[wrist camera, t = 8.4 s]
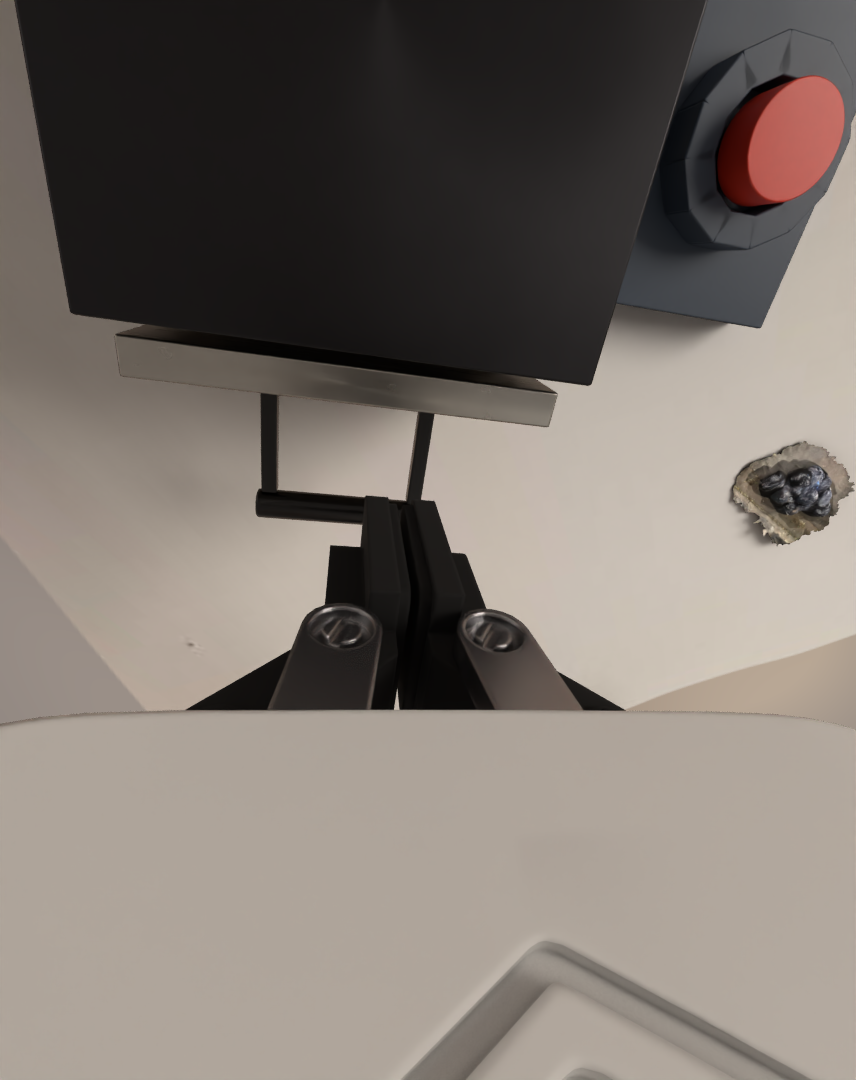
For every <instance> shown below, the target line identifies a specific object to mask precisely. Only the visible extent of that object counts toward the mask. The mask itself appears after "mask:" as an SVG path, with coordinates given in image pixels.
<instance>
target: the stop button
mask: <svg viewBox="0 0 856 1080" xmlns="http://www.w3.org/2000/svg"><path fill="white" fill-rule="evenodd" d="M844 121H845V112H844V104H843V100H842V97H841V94H840V92H839V90H838V89H837V87H836V86H835V85H834V84H833V83H832V82H831V81H829V80H828V79H826V78H824V77H821V76H816V75H809V76H804V77H800V78H798V79H795V80H793V81H790V82H788V83H785V84H783V85H780V86H778V87H775V88H773V89H770V90H768V91H765V92H763V93H761V94H759V95H757V96H755V97H754V98H752V99H751V100H750V101H748V102H747V103H746V104H745V105H744V106H743V107H742V108H741V109H740V110H739V111H738V113H737V114H736V115H735V117H734V118H733V119H732V121H731V123H730V124H729V126H728V128H727V130H726V132H725V134H724V136H723V139H722V142H721V145H720V148H719V153H718V160H717V174H718V180H719V184H720V187H721V189H722V191H723V193H724V194H725V196H726V197H727V198H728V199H729V200H730V201H732V202H733V203H735V204H737V205H740V206H746V207H748V206H758V205H766V204H774V203H781V202H786V201H790V200H792V199H795V198H797V197H799V196H800V195H802V194H804V193H805V192H806V191H808V190H809V189H810V188H811V187H813V186H814V185H815V184H816V183H817V182H818V181H819V179H820V178H821V177H822V176H823V175H824V173H825V172H826V170H827V169H828V167H829V166H830V164H831V162H832V161H833V159H834V157H835V155H836V153H837V150H838V147H839V145H840V142H841V138H842V134H843V129H844Z"/></svg>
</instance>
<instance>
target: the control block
mask: <svg viewBox="0 0 856 1080" xmlns="http://www.w3.org/2000/svg"><path fill="white" fill-rule="evenodd" d="M809 75H816V76H821V77H824V78H826V79H828V80H829V81H831V82H832V83H833V84H834V85H835V86H836V87H837V89H838V90H839V92H840V94H841V97H842V100H843V104H844V112H845V121H844V129H843V134H842V138H841V142H840V145H839V147H838V150H837V153H836V155H835V157H834V159H833V161H832V162H831V164H830V166H829V167H828V169H827V170H826V172H825V173H824V175H823V176H822V177H821V178H820V179H819V181H818V182H817V183H816V184H815V185H814V186H813V187H811V188H810V189H809V190H808V191H806V192H805V193H804V194H802V195H800V196H799V197H797V198H795V199H792V200H790V201H786V202H781V203H774V204H766V205H758V206H748V207H746V206H740V205H737V204H735V203H733V202H732V201H730V200H729V199H728V198H727V197H726V196H725V194H724V193H723V191H722V189H721V187H720V184H719V180H718V174H717V160H718V153H719V148H720V145H721V142H722V139H723V136H724V134H725V132H726V130H727V128H728V126H729V124H730V123H731V121H732V119H733V118H734V117H735V115H736V114H737V113H738V111H739V110H740V109H741V108H742V107H743V106H744V105H745V104H746V103H747V102H748V101H750V100H751V99H752V98H754V97H755V96H757V95H759V94H761V93H763V92H765V91H768V90H770V89H773V88H775V87H778V86H780V85H783V84H785V83H788V82H790V81H793V80H795V79H798V78H800V77H804V76H809ZM855 113H856V0H708V2H707V6H706V9H705V12H704V16H703V19H702V22H701V25H700V29H699V32H698V35H697V39H696V42H695V45H694V48H693V52H692V55H691V58H690V62H689V65H688V68H687V71H686V75H685V78H684V81H683V85H682V88H681V91H680V95H679V98H678V101H677V104H676V108H675V111H674V114H673V118H672V121H671V124H670V127H669V131H668V134H667V137H666V141H665V144H664V147H663V150H662V154H661V157H660V160H659V164H658V167H657V170H656V173H655V177H654V180H653V183H652V187H651V190H650V193H649V197H648V200H647V203H646V206H645V210H644V213H643V216H642V220H641V223H640V226H639V229H638V233H637V236H636V239H635V243H634V246H633V249H632V252H631V256H630V259H629V262H628V266H627V269H626V272H625V275H624V279H623V282H622V285H621V289H620V292H619V295H618V299H617V302H616V304H622V305H627V306H633V307H639V308H644V309H650V310H656V311H662V312H667V313H673V314H679V315H685V316H690V317H696V318H702V319H707V320H713V321H719V322H725V323H730V324H736V325H742V326H748V327H753V328H761V326H762V324H763V322H764V320H765V317H766V315H767V313H768V310H769V308H770V306H771V304H772V301H773V299H774V297H775V295H776V292H777V290H778V288H779V286H780V283H781V281H782V279H783V276H784V274H785V272H786V270H787V267H788V265H789V263H790V261H791V258H792V256H793V254H794V252H795V249H796V247H797V245H798V242H799V240H800V238H801V236H802V233H803V231H804V229H805V227H806V224H807V222H808V220H809V218H810V215H811V213H812V211H813V208H814V206H815V204H816V203H817V202H818V201H819V200H820V199H821V198H822V197H823V196H824V195H825V193H826V192H827V190H828V188H829V185H830V183H831V181H832V179H833V176H834V174H835V172H836V170H837V167H838V165H839V163H840V161H841V158H842V156H843V154H844V152H845V149H846V147H847V145H848V143H849V139H850V134H851V122H852V120H853V118H854V116H855Z"/></svg>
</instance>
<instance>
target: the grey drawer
mask: <svg viewBox="0 0 856 1080" xmlns="http://www.w3.org/2000/svg"><path fill="white" fill-rule="evenodd" d="M114 337H115V344H116V351H117V358H118V365H119V372H120V375H121V376H123V377H130V378H139V379H147V380H155V381H164V382H172V383H181V384H189V385H197V386H206V387H214V388H222V389H231V390H239V391H247V392H256V393H261V484H262V489H259V490H258V492H257V495H256V515H257V516H258V517H265V518H278V519H292V520H305V521H319V522H332V523H345V524H359V525H363V514H364V504H365V497H356V496H344V495H332V494H320V493H308V492H297V491H285V490H278V451H279V395H281V396H289V397H298V398H306V399H314V400H323V401H331V402H339V403H348V404H356V405H365V406H373V407H381V408H390V409H398V410H406V411H415V412H418V415H417V422H416V429H415V436H414V443H413V450H412V457H411V464H410V471H409V478H408V485H407V492H406V501H403V500H391V499H389V503H390V504H397V509H398V515H399V521H400V519H401V511H402V506H403V505H410V504H411V501H412V500H421V495H422V489H423V483H424V477H425V470H426V464H427V458H428V452H429V445H430V439H431V433H432V426H433V420H434V414H440V415H448V416H457V417H465V418H473V419H482V420H490V421H498V422H507V423H515V424H523V425H532V426H540V427H549V424H550V421H551V417H552V413H553V410H554V406H555V403H556V399H557V393H556V392H554V391H553V390H551V389H550V388H548V387H547V386H545V385H544V384H542V383H541V382H539V381H538V380H536V379H535V378H528V377H521V376H514V375H507V374H499V373H492V372H485V371H478V370H471V369H463V368H456V367H449V366H442V365H435V364H427V363H420V362H413V361H406V360H398V359H391V358H384V357H377V356H370V355H362V354H355V353H348V352H341V351H334V350H326V349H319V348H312V347H305V346H298V345H290V344H283V343H276V342H269V341H261V340H254V339H247V338H240V337H233V336H225V335H218V334H211V333H204V332H197V331H189V330H182V329H175V328H168V327H161V326H153V325H142V326H139V327H136V328H133V329H130V330H127V331H124V332H120V333H117V334H115V336H114Z"/></svg>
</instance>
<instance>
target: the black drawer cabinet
mask: <svg viewBox="0 0 856 1080" xmlns="http://www.w3.org/2000/svg"><path fill="white" fill-rule="evenodd" d="M14 1H15V7H16V12H17V18H18V23H19V29H20V35H21V40H22V46H23V51H24V57H25V63H26V68H27V74H28V79H29V85H30V90H31V96H32V102H33V107H34V113H35V118H36V124H37V130H38V135H39V141H40V146H41V152H42V158H43V163H44V169H45V174H46V180H47V185H48V191H49V197H50V202H51V208H52V213H53V219H54V225H55V230H56V236H57V241H58V247H59V253H60V258H61V264H62V269H63V275H64V280H65V286H66V292H67V297H68V303H69V308H70V312H71V313H73V314H75V315H81V316H88V317H96V318H103V319H110V320H117V321H125V322H132V323H139V324H146V325H153V326H161V327H168V328H175V329H182V330H189V331H197V332H204V333H211V334H218V335H225V336H233V337H240V338H247V339H254V340H261V341H269V342H276V343H283V344H290V345H298V346H305V347H312V348H319V349H326V350H334V351H341V352H348V353H355V354H362V355H370V356H377V357H384V358H391V359H398V360H406V361H413V362H420V363H427V364H435V365H442V366H449V367H456V368H463V369H471V370H478V371H485V372H492V373H499V374H507V375H514V376H521V377H528V378H535V379H543V380H550V381H557V382H564V383H572V384H579V385H586V386H589V385H591V384H592V381H593V377H594V374H595V371H596V368H597V364H598V361H599V358H600V354H601V351H602V348H603V345H604V341H605V338H606V335H607V331H608V328H609V325H610V322H611V318H612V315H613V312H614V308H615V305H616V302H617V299H618V295H619V292H620V289H621V285H622V282H623V279H624V275H625V272H626V269H627V266H628V262H629V259H630V256H631V252H632V249H633V246H634V243H635V239H636V236H637V233H638V229H639V226H640V223H641V220H642V216H643V213H644V210H645V206H646V203H647V200H648V197H649V193H650V190H651V187H652V183H653V180H654V177H655V173H656V170H657V167H658V164H659V160H660V157H661V154H662V150H663V147H664V144H665V141H666V137H667V134H668V131H669V127H670V124H671V121H672V118H673V114H674V111H675V108H676V104H677V101H678V98H679V95H680V91H681V88H682V85H683V81H684V78H685V75H686V71H687V68H688V65H689V62H690V58H691V55H692V52H693V48H694V45H695V42H696V39H697V35H698V32H699V29H700V25H701V22H702V19H703V16H704V12H705V9H706V6H707V2H708V0H14Z"/></svg>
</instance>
